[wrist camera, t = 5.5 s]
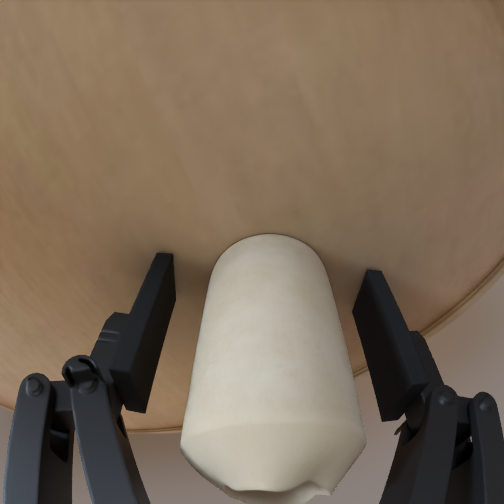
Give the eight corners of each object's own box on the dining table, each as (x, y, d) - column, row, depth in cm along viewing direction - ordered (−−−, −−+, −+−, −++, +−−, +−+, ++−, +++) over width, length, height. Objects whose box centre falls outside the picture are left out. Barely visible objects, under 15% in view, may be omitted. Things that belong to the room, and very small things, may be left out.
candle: (199, 239, 14) (139, 471, 5) (326, 225, 13) (396, 461, 5) (222, 327, 17) (203, 513, 8) (325, 318, 16) (357, 505, 8)
